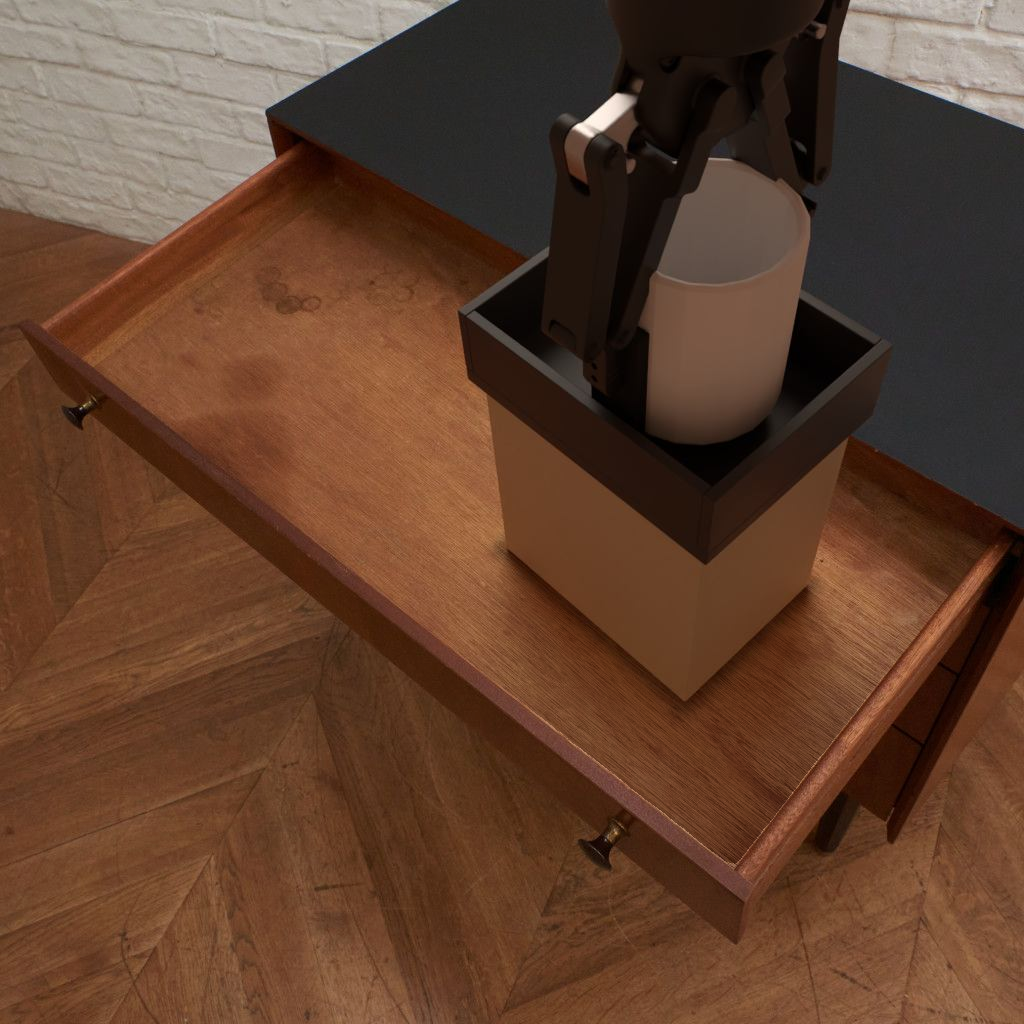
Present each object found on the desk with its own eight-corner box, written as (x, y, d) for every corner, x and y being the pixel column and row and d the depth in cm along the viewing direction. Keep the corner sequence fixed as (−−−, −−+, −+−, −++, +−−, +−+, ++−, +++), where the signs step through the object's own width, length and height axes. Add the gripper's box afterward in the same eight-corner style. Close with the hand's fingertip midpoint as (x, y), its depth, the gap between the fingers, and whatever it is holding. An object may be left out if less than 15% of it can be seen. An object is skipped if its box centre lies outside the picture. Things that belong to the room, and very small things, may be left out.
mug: (624, 259, 60) (627, 94, 52) (815, 374, 54) (851, 211, 46) (515, 345, 57) (500, 185, 49) (706, 476, 51) (724, 320, 43)
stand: (808, 584, 69) (855, 415, 56) (684, 702, 65) (704, 550, 52) (627, 448, 76) (631, 268, 63) (506, 547, 72) (483, 379, 59)
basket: (873, 415, 56) (894, 344, 52) (705, 566, 52) (714, 503, 48) (631, 258, 63) (633, 185, 59) (467, 379, 59) (456, 310, 55)
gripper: (835, -266, 41) (764, 222, 60) (391, -17, 34) (467, 450, 53) (1018, -206, 38) (883, 292, 57) (568, 85, 31) (583, 546, 49)
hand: (682, 368), depth 55 cm, fingers closed on mug, 8 cm apart
